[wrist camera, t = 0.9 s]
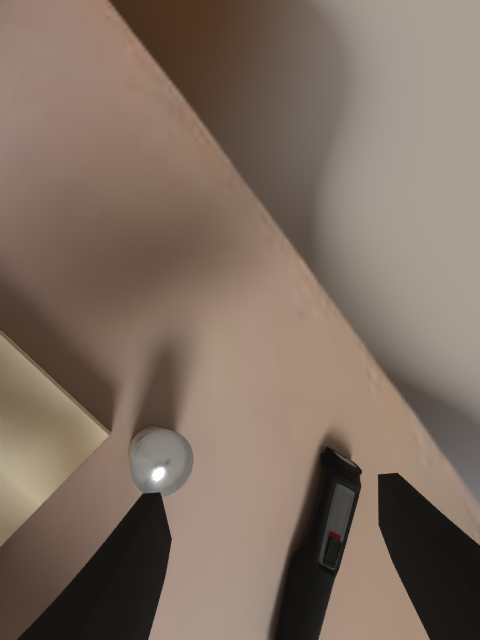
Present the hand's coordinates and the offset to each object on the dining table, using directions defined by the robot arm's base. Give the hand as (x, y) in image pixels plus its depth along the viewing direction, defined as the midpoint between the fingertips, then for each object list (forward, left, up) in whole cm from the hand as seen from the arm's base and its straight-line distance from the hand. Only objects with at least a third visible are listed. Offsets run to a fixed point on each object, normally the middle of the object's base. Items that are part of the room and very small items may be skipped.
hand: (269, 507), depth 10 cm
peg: (-1, +2, -14) cm, 15 cm away
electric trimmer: (+2, -13, -15) cm, 20 cm away
